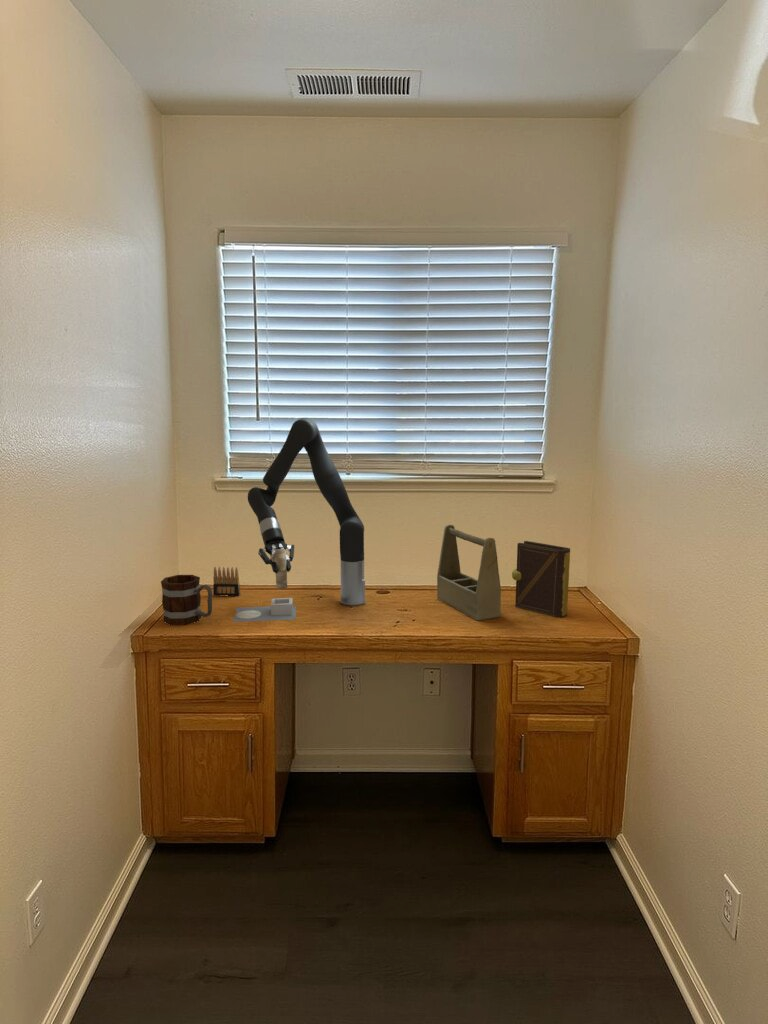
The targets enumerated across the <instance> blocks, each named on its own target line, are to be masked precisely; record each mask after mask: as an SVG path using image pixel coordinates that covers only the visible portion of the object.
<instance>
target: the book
mask: <svg viewBox="0 0 768 1024" xmlns="http://www.w3.org/2000/svg"><path fill="white" fill-rule="evenodd" d="M516 548H517V551H516V568H514V569H513V570H512V572H511V576H512V577H511V578H512V579H513V580H514V581H515V604H514V607H515V608H518V609H522V610H526V611H529V612H533V613H538V614H542V615H544V616H550V617H554V618H560V619H562V618H565V617H566V616H568V615H567V614H568V605H569V604H568V603H569V583H570V582H569V580H570V563H571V560H570V559H571V548H570V547H566V546H560V545H559V546H558V545H552V544H548V543H542V542H535V541H529V540H524V541H523V542H518V543H517V547H516Z"/></svg>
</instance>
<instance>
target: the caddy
mask: <svg viewBox="0 0 768 1024" xmlns="http://www.w3.org/2000/svg"><path fill="white" fill-rule="evenodd" d="M457 538H459V539H461V540H464V541H468V542H470V543H473V544H476V545H478V546H481V547H483V548H482V551H481V558H480V566H479V571H478V576H477V579H475V578H474V577H472V576H469V575H467V574H465V573H462V572H461V566H460V565H461V564H460V557H459V551H458V550H459V548H458V543H457ZM497 552H498V551H497V544H496V540H495V538H493V537H487V538H485V539H484V538H481V537H477V536H475V535H472V534H468V533H465V532H463V531H461V530H459V529H455V526H454V525H453V524H446V525H445V526H444V529H443V536H442V541H441V548H440V554H439V561H438V568H437V575H436V576H437V577H436V578H437V579H436V584H437V585H436V586H437V587H436V588H437V594H436V595H437V597H436V599H437V600H439V601H440V602H441V603H445V604H446V605H448V606H450V607H452V608H454V609H456V610H457V611H458V612H461V613H463V614H464V615H466V616H468V617H470V618H472V619H473V620H474V621H482V620H489V619H493V618H494V619H495V618H500V617H501V608H502V607H501V605H502V604H501V602H502V600H501V599H502V590H501V589H502V588H501V579H500V572H499V571H500V570H499V563H498V562H499V561H498V553H497Z"/></svg>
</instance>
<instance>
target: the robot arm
mask: <svg viewBox="0 0 768 1024" xmlns="http://www.w3.org/2000/svg"><path fill="white" fill-rule="evenodd" d="M321 435H322V434H321V433H320V430H319V427H318V425H317V423H316V422H315V420H314V419H312V418H309V417H302V418H299V419H297V420H295V421H294V422H293V423H292V425H291V427H290V430H289V431H288V434H287V437H286V439H285V442H284V444H283V445H282V448H281V449H280V451H279V453H278V454H277V456H276V457H275V459H274V460H273V462H272V463H271V465H270V466H269V468H268V469H267V470H266V473H265V474H264V475H263V477H262V482H263V484H265V486H267V487H266V489H265V488H261V487H258V486H256V487H254V486H253V487H251V488H250V489H249V491H248V493H247V501H248V504H249V507H250V509H252V511H253V513H254V514H255V516H256V518H257V522H258V525H259V531H260V535H261V537H262V541H263V544H264V548H261V547H260V548H259V549H258V555H259V557H260V558H261V559H262V561H263V562H264V564H265V565H270V566H271V569H272V572H273V573H274V574H275V575H276V573H278V568H277V564H276V562H275V550H276V549H286V550H287V551H288V552H289V556H288V553H287V552H286V564H287V573H289V572H291V569H292V564H291V562H292V561H293V560H294V557H295V556H294V555H295V545H294V544H291V545H290V544H289V545H288V544H287V543H286V541H285V538H284V534H283V531H282V528H281V525H280V523H279V521H278V517H277V515H276V511H275V510H274V508H273V507H272V506H273V505H274V504H275V502H276V500H277V496H278V492H279V489H280V486H282V483H283V482H284V480H285V479H286V477H287V476H288V474H289V471H290V470H291V468H292V465H293V463H294V461H295V460H296V458H297V456H298V454H299V453H300V452H301V451H302V449H303V448H304V449H305V451H306V454H307V456H308V458H309V462H310V467H311V471H312V475H313V478H314V481H315V483H316V486H317V487H318V489H319V491H320V493H321V494H322V496H323V498H324V499H325V501H326V502H327V503H328V505H329V506H330V508H331V509H332V510H333V512H334V514H335V517H336V519H337V521H338V524H339V527H340V528H339V554H340V555H339V557H340V602H341V604H342V605H346V606H360V605H363V604H366V579H365V526H364V522H363V521H362V520H361V518H360V517H359V515H358V513H357V512H356V510H355V507H353V505H352V503H351V500H350V498H349V495H348V491H347V489H346V487H345V485H344V481H343V480H342V478H341V475H340V474H339V471H338V469H337V467H336V466H335V463H334V462H333V459H332V458H331V456H330V454H329V452H328V450H327V448H326V447H325V444H324V440H323V439H322V436H321ZM267 554H268V555H269V556H268V555H267Z"/></svg>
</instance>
